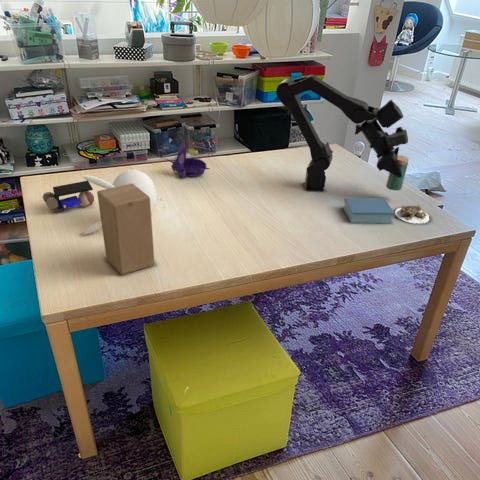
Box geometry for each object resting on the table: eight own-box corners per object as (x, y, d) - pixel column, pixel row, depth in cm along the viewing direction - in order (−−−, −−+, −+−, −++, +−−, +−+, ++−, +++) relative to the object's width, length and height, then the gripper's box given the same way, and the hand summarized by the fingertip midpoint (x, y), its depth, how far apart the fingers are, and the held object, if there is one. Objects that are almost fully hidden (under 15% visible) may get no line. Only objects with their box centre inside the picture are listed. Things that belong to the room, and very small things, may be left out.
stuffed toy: (155, 161, 153) (73, 162, 140) (174, 180, 144) (88, 184, 132) (150, 216, 164) (73, 222, 152) (166, 237, 156) (86, 245, 143)
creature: (161, 172, 187) (159, 139, 180) (207, 168, 192) (207, 136, 185) (166, 181, 181) (164, 147, 173) (213, 177, 186) (214, 144, 178)
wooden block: (155, 265, 136) (150, 196, 124) (121, 276, 131) (112, 205, 119) (138, 249, 142) (132, 182, 130) (105, 259, 137) (96, 190, 125)
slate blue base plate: (350, 223, 161) (352, 212, 159) (342, 208, 170) (344, 197, 168) (391, 223, 163) (394, 212, 160) (381, 208, 171) (384, 198, 169)
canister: (395, 191, 171) (402, 161, 165) (382, 186, 174) (389, 156, 168) (404, 188, 174) (412, 158, 167) (392, 182, 177) (399, 153, 171)
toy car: (51, 220, 156) (98, 207, 161) (44, 198, 151) (92, 185, 156) (47, 211, 161) (92, 199, 166) (39, 189, 156) (86, 177, 161)
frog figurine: (410, 226, 161) (413, 215, 159) (386, 211, 170) (389, 200, 167) (437, 221, 166) (440, 210, 163) (413, 206, 174) (415, 195, 172)
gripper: (396, 129, 154) (422, 169, 159) (398, 113, 168) (423, 151, 173) (365, 151, 161) (391, 189, 165) (370, 133, 175) (394, 169, 180)
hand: (401, 173), depth 171 cm, fingers closed on canister, 5 cm apart
